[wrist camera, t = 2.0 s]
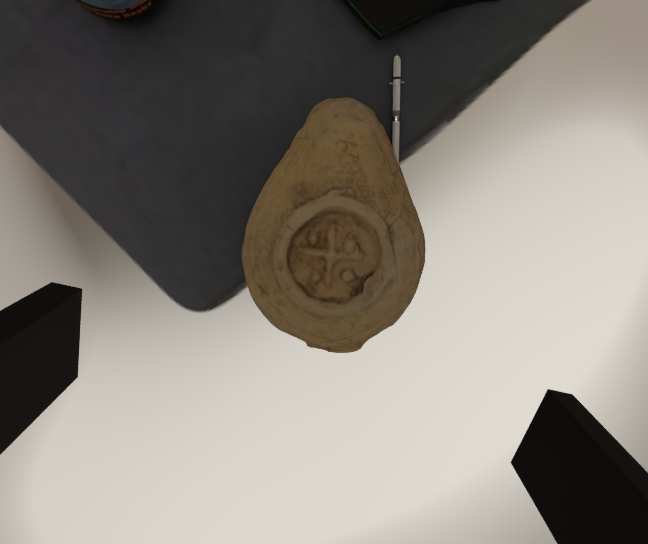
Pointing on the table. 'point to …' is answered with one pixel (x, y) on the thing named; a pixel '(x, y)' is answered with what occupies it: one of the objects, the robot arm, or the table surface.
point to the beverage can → (117, 8)
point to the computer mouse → (397, 12)
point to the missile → (396, 104)
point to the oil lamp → (335, 233)
